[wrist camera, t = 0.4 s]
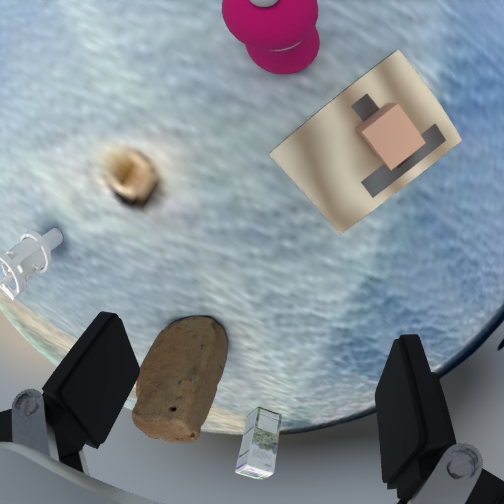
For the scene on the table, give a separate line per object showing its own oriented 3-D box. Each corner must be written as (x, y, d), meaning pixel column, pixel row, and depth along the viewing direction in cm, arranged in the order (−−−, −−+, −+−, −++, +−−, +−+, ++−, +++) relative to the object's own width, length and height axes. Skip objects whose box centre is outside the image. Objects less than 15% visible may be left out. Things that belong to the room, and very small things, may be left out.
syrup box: (246, 416, 60) (233, 473, 48) (258, 405, 58) (246, 466, 45) (269, 424, 61) (259, 481, 48) (282, 414, 58) (274, 474, 45)
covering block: (387, 102, 29) (398, 103, 25) (413, 137, 30) (425, 142, 26) (355, 128, 31) (361, 131, 27) (382, 162, 32) (391, 170, 29)
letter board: (396, 50, 26) (398, 49, 25) (459, 139, 29) (462, 140, 29) (269, 153, 35) (268, 154, 34) (339, 231, 38) (340, 234, 37)
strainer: (61, 260, 48) (8, 308, 35) (38, 231, 46) (-18, 272, 33) (77, 241, 45) (18, 290, 32) (53, 209, 43) (-10, 251, 30)
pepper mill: (331, 48, 28) (362, -10, 10) (286, 89, 31) (266, 75, 13) (282, 8, 26) (256, -79, 9) (239, 49, 29) (166, 1, 12)
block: (224, 313, 47) (184, 423, 30) (234, 348, 50) (203, 451, 33) (162, 314, 49) (108, 408, 32) (176, 346, 53) (133, 438, 35)
